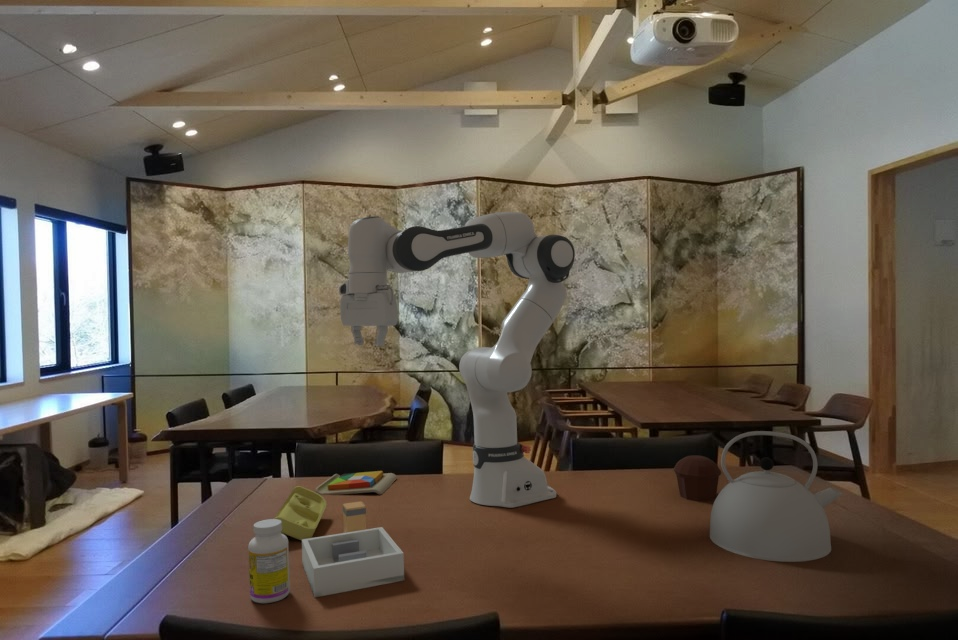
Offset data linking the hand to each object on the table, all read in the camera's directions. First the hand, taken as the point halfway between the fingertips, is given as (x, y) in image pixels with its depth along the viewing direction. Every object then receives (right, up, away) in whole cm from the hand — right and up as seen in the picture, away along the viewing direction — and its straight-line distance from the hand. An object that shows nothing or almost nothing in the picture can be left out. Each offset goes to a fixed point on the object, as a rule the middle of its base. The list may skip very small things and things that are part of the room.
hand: (369, 345), depth 152 cm
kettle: (+86, -40, -19) cm, 97 cm away
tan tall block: (-1, -42, -13) cm, 44 cm away
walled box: (+2, -42, -29) cm, 51 cm away
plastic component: (-16, -42, -3) cm, 45 cm away
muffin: (+81, -39, +13) cm, 91 cm away
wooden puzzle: (-9, -42, +32) cm, 54 cm away
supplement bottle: (-11, -42, -39) cm, 58 cm away
